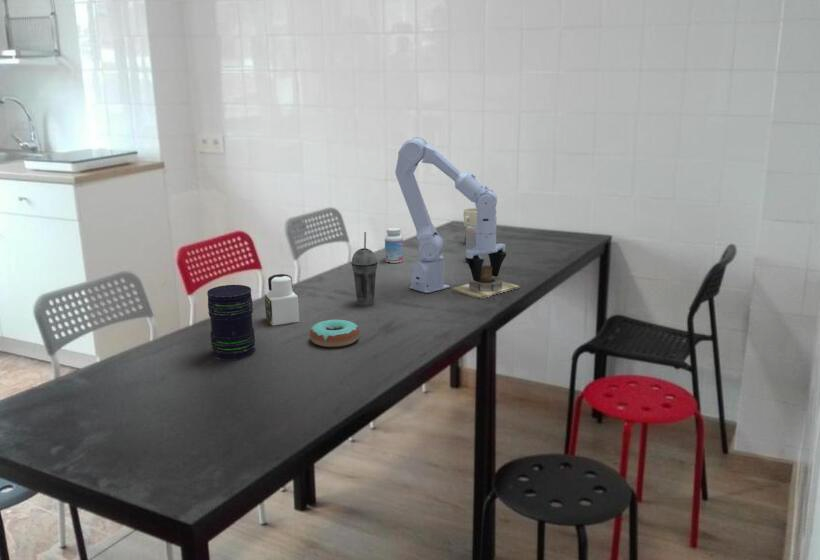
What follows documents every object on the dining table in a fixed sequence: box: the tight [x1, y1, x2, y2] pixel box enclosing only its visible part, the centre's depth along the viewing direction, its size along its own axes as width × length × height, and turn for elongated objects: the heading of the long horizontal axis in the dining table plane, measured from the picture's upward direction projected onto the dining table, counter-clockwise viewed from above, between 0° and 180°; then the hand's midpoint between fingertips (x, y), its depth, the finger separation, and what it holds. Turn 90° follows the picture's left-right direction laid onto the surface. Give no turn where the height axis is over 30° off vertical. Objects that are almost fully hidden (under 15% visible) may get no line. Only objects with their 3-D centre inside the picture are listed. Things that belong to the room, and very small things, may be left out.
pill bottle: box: [384, 227, 404, 264], centre depth 257 cm, size 6×6×11 cm
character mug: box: [462, 207, 477, 245], centre depth 280 cm, size 11×7×13 cm, turn 144°
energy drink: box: [465, 225, 483, 263], centre depth 255 cm, size 5×5×12 cm
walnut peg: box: [479, 264, 493, 283], centre depth 222 cm, size 4×4×6 cm
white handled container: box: [264, 273, 300, 327], centre depth 196 cm, size 7×7×12 cm
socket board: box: [451, 276, 520, 300], centre depth 223 cm, size 16×12×3 cm
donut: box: [309, 319, 360, 348], centre depth 182 cm, size 12×12×4 cm
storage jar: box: [206, 284, 256, 361], centre depth 173 cm, size 10×10×15 cm
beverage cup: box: [350, 231, 378, 307], centre depth 209 cm, size 7×7×20 cm
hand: (485, 278), depth 222 cm, fingers open, 7 cm apart
